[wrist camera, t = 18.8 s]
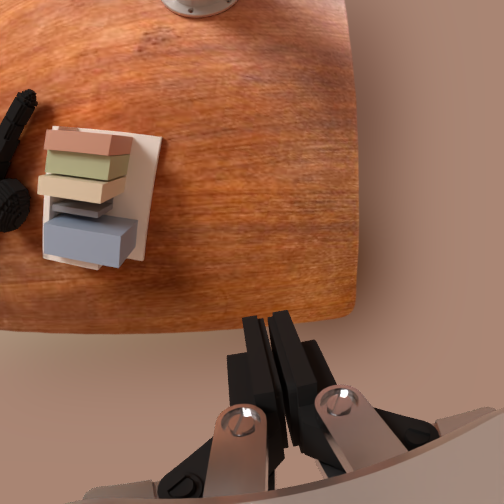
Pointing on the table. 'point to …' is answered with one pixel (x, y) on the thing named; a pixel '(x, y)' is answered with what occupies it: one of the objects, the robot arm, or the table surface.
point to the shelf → (124, 200)
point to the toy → (3, 147)
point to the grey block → (91, 238)
